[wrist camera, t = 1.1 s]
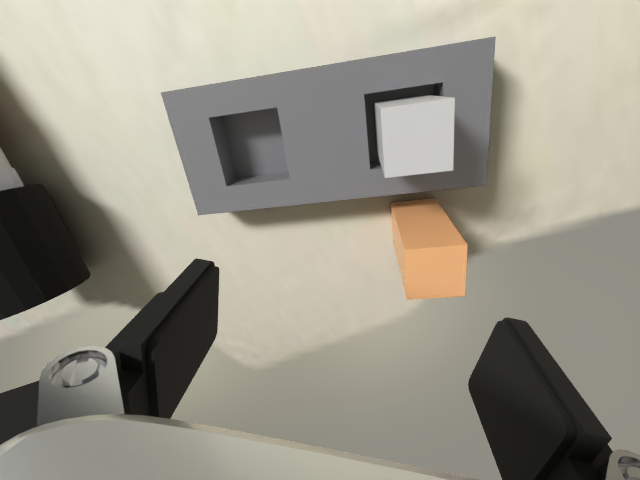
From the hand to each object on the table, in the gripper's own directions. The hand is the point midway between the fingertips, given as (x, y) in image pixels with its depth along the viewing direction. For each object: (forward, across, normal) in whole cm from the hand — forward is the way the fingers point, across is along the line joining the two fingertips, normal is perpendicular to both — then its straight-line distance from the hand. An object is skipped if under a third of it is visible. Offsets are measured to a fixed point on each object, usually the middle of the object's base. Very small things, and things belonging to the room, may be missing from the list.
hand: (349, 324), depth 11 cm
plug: (+21, -6, +3) cm, 23 cm away
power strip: (+21, +3, -3) cm, 22 cm away
